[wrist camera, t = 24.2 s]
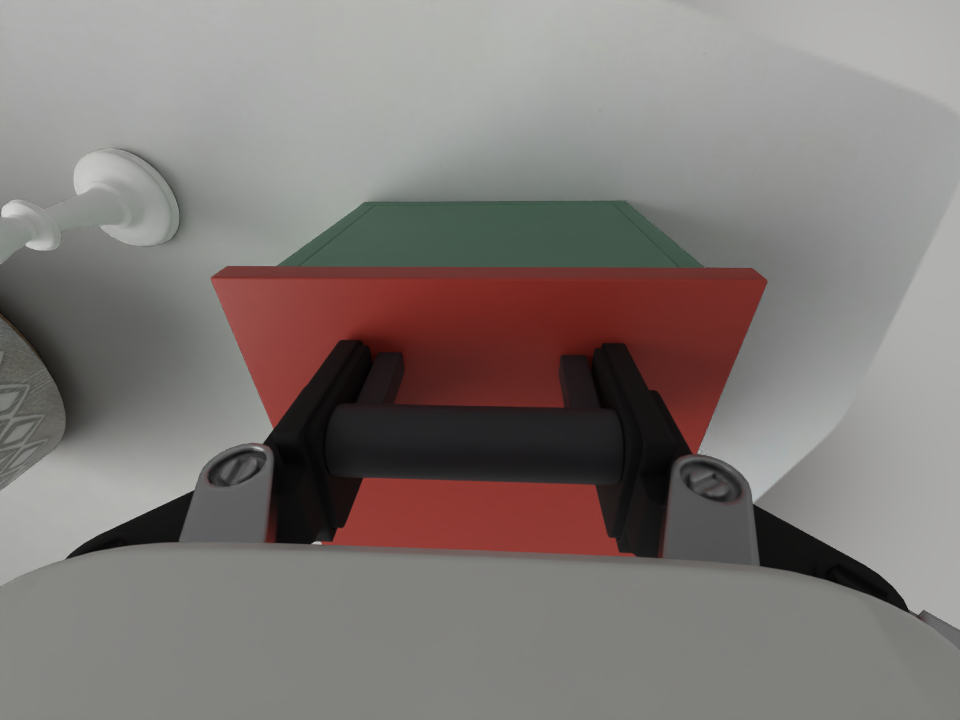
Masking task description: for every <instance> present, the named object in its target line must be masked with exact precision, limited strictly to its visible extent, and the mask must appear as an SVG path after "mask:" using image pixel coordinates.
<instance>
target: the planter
mask: <svg viewBox="0 0 960 720" xmlns="http://www.w3.org/2000/svg"><path fill="white" fill-rule="evenodd" d="M65 428H66V414H65V409H64V405H63V401H62V397H61V395H60V393H59V390H58V388H57V386H56V384H55V382H54V380H53V378H52V377H51V375H50V373H49V372H48V370H47V368H46V366H45V364H44V363H43V361H42V360H41V358H40V356H39V355H38V353H37V352H36V351H35V349H34V348H33V347H32V345H31V344H30V343H29V342H28V340H27V339H26V338H25V337H24V336H23V335H22V334H21V333H20V332H19V331H18V330H17V329H16V328H15V327H14V325H13V324H12V323H11V322H9V321H8V320H7V319H6V318H5V317H4V316H3V315H1V314H0V491H1V490H2V489H3V488H5V487H6V486H7V485H8V484H10V483H11V482H12V481H14V480H15V479H16V478H18V477H19V476H20V475H21V474H23V473H24V472H25V471H27V470H28V469H29V468H31V467H32V466H33V465H34V464H36V463H37V462H38V461H40V460H41V459H42V458H43V457H45V456H46V455H47V454H49V453H50V452H51V451H53V450H54V449H55V448H56V446H57V445H58V444H59V442H60V441H61V440H62V437H63V434H64V431H65Z"/></svg>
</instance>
